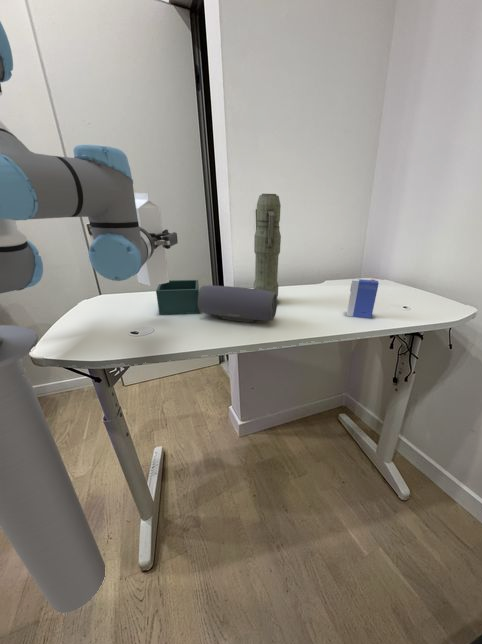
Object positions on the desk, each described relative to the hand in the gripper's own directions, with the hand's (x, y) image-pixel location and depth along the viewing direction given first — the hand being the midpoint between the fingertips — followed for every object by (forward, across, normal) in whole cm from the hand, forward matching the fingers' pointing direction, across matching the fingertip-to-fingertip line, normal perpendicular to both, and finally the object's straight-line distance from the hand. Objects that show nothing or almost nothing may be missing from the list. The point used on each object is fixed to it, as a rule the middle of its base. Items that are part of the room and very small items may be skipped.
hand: (149, 234), depth 80 cm
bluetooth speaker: (-5, +24, -24) cm, 34 cm away
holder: (+8, +5, -24) cm, 26 cm away
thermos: (+12, +35, -24) cm, 44 cm away
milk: (-5, 0, -12) cm, 13 cm away
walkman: (-6, +64, -24) cm, 68 cm away
